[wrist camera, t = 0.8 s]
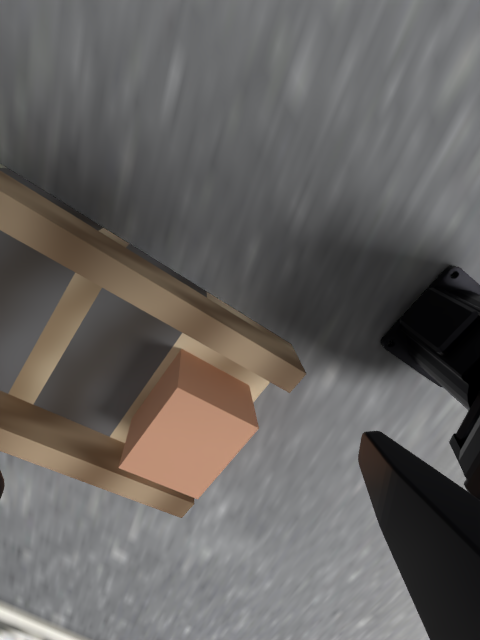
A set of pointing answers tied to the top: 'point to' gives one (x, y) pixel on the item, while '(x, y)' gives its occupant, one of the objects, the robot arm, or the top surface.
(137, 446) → the terracotta block
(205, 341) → the frame
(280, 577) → the top surface
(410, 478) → the robot arm
